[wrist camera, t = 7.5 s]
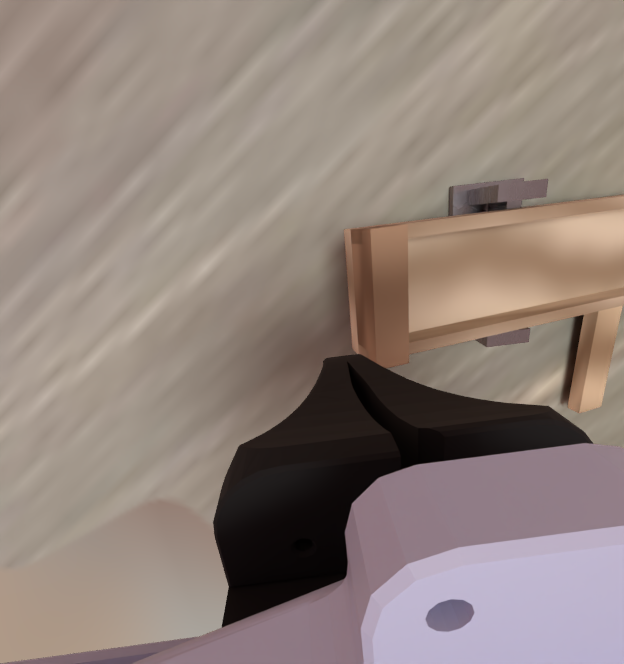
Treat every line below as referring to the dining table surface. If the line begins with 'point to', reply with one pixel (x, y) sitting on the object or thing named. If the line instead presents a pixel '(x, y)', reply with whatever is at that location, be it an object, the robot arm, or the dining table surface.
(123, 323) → the dining table surface
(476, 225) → the lever
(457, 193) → the fulcrum
